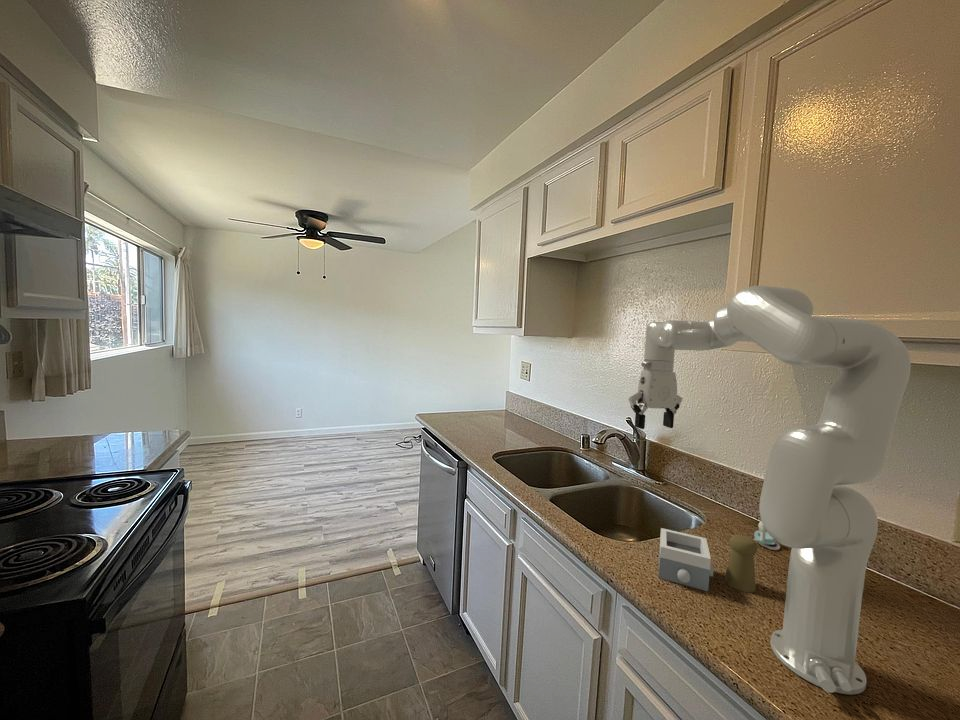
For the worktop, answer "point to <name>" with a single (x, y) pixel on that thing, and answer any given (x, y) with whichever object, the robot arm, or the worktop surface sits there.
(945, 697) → the worktop surface
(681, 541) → the grey plastic box
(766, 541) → the pacifier
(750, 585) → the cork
